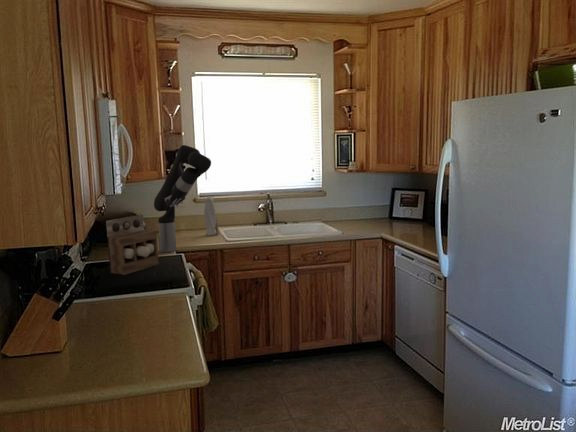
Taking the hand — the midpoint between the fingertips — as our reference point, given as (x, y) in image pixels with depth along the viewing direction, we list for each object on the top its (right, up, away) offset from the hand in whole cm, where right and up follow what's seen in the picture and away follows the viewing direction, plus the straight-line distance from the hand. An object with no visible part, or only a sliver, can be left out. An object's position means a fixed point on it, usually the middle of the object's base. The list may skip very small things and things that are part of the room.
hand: (166, 210), depth 250 cm
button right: (-12, -22, +7) cm, 26 cm away
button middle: (-13, -23, 0) cm, 26 cm away
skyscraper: (+8, -16, +95) cm, 96 cm away
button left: (-19, -24, -4) cm, 31 cm away
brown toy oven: (-17, -30, +3) cm, 34 cm away
